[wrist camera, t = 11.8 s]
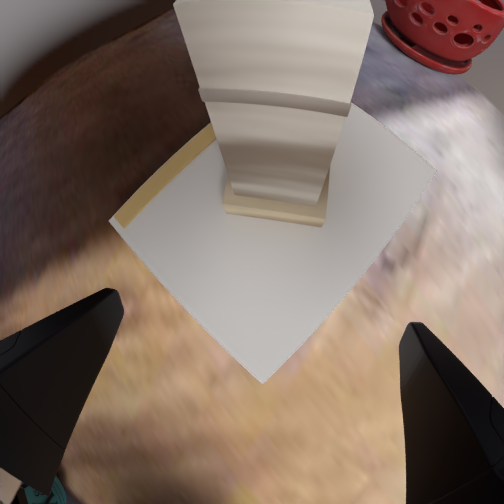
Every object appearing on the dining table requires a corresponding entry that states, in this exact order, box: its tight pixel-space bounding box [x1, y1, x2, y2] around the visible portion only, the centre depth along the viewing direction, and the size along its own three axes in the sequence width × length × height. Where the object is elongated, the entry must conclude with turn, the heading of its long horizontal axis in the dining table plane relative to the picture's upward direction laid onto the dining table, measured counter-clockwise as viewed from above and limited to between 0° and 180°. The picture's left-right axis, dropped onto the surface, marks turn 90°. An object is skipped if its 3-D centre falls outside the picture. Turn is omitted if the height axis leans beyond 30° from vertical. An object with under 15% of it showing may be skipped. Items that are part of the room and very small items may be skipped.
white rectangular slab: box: [109, 103, 437, 384], centre depth 18 cm, size 18×14×2 cm
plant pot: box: [382, 0, 504, 74], centre depth 17 cm, size 13×13×12 cm
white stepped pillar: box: [173, 0, 374, 228], centre depth 11 cm, size 6×6×13 cm
